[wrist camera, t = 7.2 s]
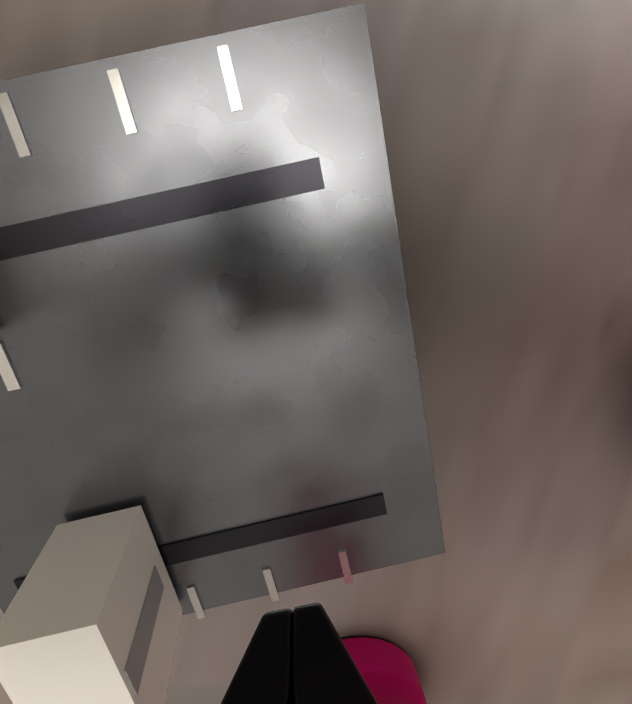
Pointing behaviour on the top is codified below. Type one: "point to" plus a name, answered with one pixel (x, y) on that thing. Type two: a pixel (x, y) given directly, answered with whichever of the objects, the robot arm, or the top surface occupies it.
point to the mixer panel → (211, 313)
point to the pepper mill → (386, 670)
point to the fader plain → (92, 617)
